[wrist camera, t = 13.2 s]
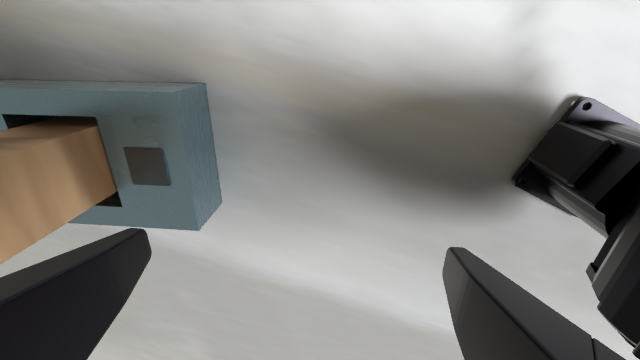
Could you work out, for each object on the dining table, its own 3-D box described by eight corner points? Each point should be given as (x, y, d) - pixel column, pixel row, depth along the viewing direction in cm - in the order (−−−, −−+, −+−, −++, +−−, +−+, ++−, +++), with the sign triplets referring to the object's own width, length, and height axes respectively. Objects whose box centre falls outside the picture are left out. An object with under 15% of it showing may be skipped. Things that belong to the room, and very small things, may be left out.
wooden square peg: (132, 114, 21) (-93, 185, 11) (146, 172, 23) (-32, 284, 12) (73, 112, 22) (-202, 180, 11) (92, 170, 24) (-128, 277, 13)
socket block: (205, 83, 20) (171, 92, 16) (222, 202, 24) (197, 232, 20) (-13, 79, 21) (-90, 86, 18) (35, 192, 25) (-20, 218, 21)
